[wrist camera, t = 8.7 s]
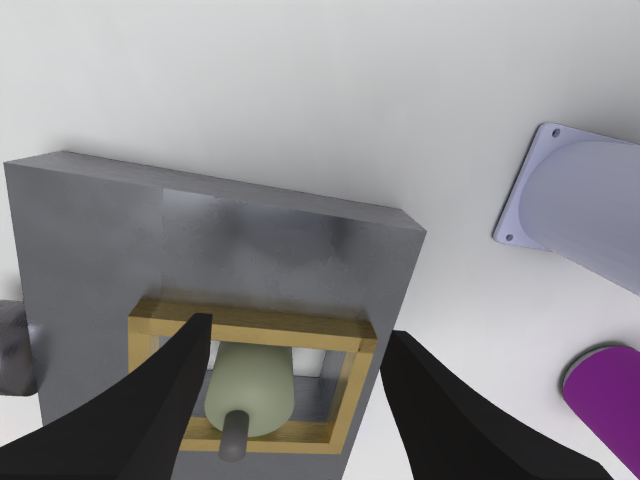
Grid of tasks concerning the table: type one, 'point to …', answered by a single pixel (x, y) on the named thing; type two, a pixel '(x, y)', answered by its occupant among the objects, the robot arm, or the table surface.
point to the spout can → (249, 394)
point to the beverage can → (609, 399)
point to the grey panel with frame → (201, 295)
